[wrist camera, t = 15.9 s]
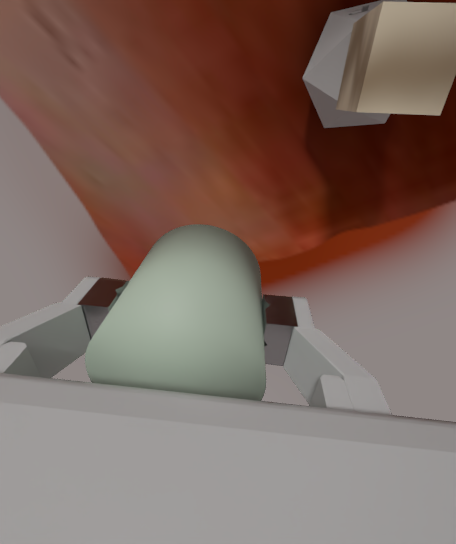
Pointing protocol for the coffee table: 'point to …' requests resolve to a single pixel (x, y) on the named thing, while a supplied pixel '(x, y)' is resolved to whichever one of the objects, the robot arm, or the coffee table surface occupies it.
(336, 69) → the die
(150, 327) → the pale green rounded lump
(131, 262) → the coffee table surface
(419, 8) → the birch block
